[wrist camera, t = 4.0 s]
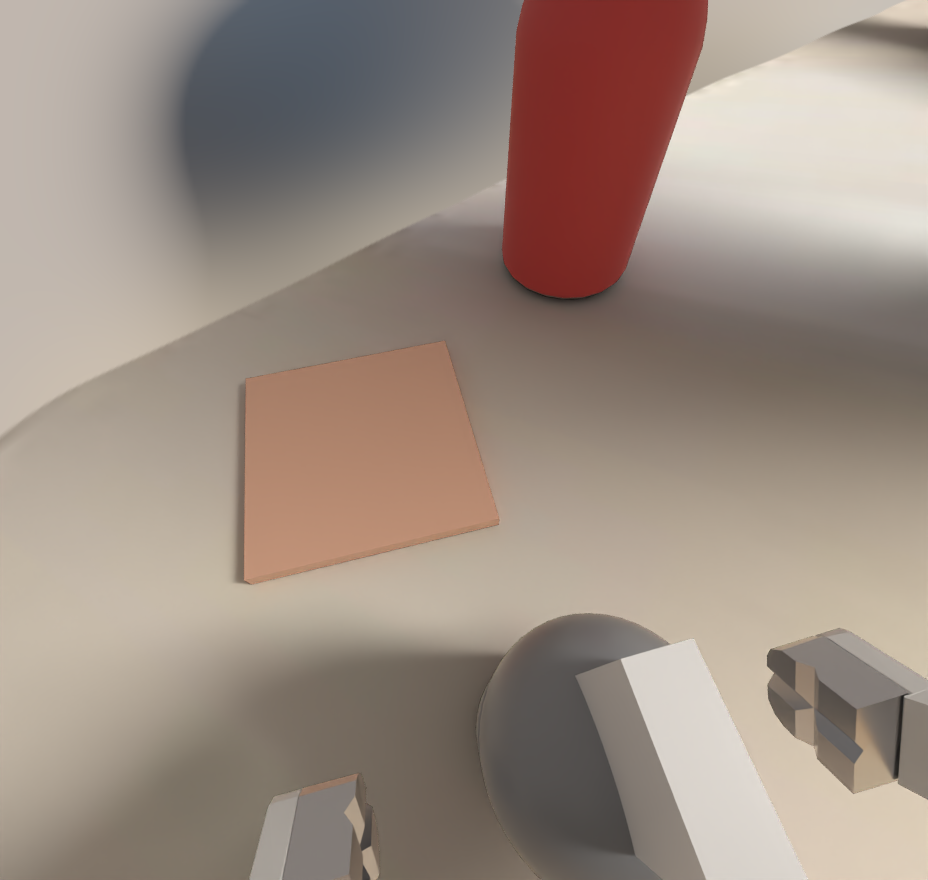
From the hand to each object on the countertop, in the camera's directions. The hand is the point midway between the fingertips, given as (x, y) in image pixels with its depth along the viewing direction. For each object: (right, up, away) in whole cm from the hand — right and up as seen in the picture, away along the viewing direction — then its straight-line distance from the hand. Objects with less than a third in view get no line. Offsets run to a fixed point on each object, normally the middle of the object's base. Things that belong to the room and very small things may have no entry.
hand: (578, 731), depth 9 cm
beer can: (+3, +15, +16) cm, 22 cm away
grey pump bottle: (0, -3, +5) cm, 6 cm away
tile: (-6, +5, +10) cm, 13 cm away
